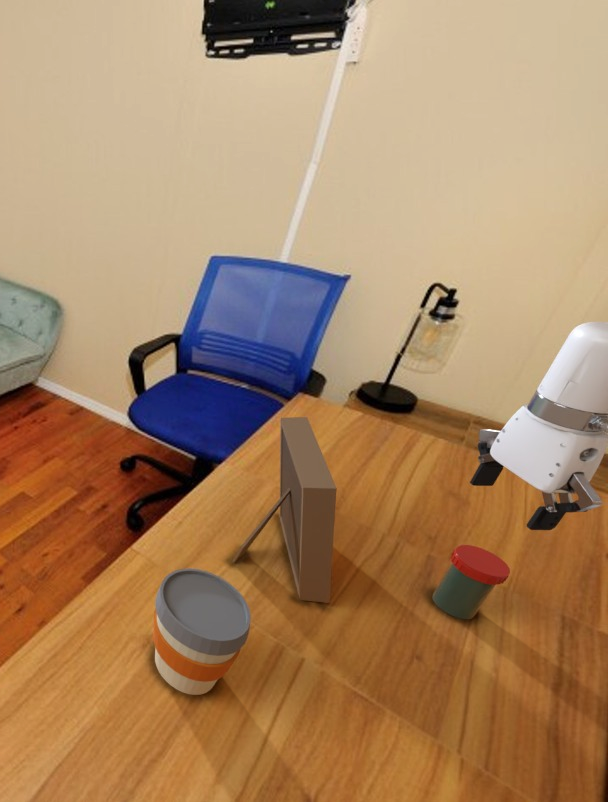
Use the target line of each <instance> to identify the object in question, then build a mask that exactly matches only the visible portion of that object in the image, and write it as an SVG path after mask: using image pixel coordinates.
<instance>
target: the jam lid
mask: <svg viewBox="0 0 608 802" xmlns="http://www.w3.org/2000/svg"><path fill="white" fill-rule="evenodd" d="M449 559H450V562H451V564H452V563H453V565H454V566H455V567H456V568H457V569H458V570H459V571H461V572H462V573H463V574H465V575H466V576H468V577H470V578H472V579H474V580H477V581H479V582H482V583H486V584H491V585H495V586H498V585H501V584H504V582H506V581H507V580H508V578H509V577H510V574H511V569H510V567H509V565H508V564H507V563H506V561H505V560H503V559H502V558H500V557H499V556H498V555H496V554H495V553H493V552H491V551H489V550H487V549H485V548H482V547H479V546H476V545H471V544H461V545H458V546H456V548H455V549H453V551H452V553H451V554H450V558H449Z"/></svg>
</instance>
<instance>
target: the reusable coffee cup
mask: <svg viewBox="0 0 608 802" xmlns="http://www.w3.org/2000/svg"><path fill="white" fill-rule="evenodd" d="M154 605H155V606H154V607H155V608H154V612H153V629H152V640H153V645H154V648H155V649H154V662H155V666H156V668H157V671H158V673H159V674H160V677H162V679H163V680H164V681H165V682H166V683H167V684H168V685H169V686H171V687H172V688H174V689H175V690H176V691H179V692H180V693H184V694H185V695H193V696H197V695H198V696H199V695H200V696H201V695H204V694H207V693H208V692H210V691H211V690H212V689H213V687H214V686H215V685H216V683H217V682H218V680H220V679H221V678H222V677H224V676H225V675H226V674H227V673H228V671H229V670H230V668H231V667H232V666H233V664H234V662H235V661H236V660H237V659H238V657H239V654H240V652H241V650H242V648H243V647H244V646H245V644H246V642H247V640H248V638H249V634H250V629H251V621H252V616H251V610H250V608H249V605H248V602H247V601H246V599H245V598H244V596H243V595H242V594H241V592H240V591H239V590H238V589H237V588H236V587H234V585H233V584H232V583H230V582H229V581H227V580H226V579H224V578H222V577H220V576H219V575H217V574H215V573H212V572H209V571H207V570H203V569H199V568H190V567H189V568H180V569H176V570H174V571H171V572H170V573H168V574H167V575H166V576H165V577H164V578H163V580H162V582H161V583H160V586H159V588H158V591H157V592H156V596H155V599H154Z"/></svg>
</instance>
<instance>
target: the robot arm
mask: <svg viewBox="0 0 608 802" xmlns="http://www.w3.org/2000/svg"><path fill="white" fill-rule="evenodd" d="M539 383H540V384H539V385H538V387H537V389H536V391H535V392H534V393H533V395H532V397H531V398H530V400H529V402H528V403H525V404H523V405H522V406H521V407H520V408H519V409H518V410H516V412H514V414H513V415H512V416H511V417H510V418H509V420H507V422H506V423H505V425H504V426H503V427H502V429H501V430H498V429H489V428H488V429H487V428H485V429H484V428H483V429H479V431H478V443H477V449H478V452H479V456H478V457H477V461H478V462H479V465H478V467H477V469H476V470H475V472H474V474H473V476H472V478H471V479H470V481H469V484H471V486H473V487H474V486H475V487H493V486H494V485H495V483H496V481H497V479H498V478H499V476H500V475H501V473H502V471H503V470H504V468H505V469H507V470H509V471H510V472H511V473H512V474H513V475H516V476H517V477H518V478H520V479H522V480H523V481H524V482H526V483H527V484H529V485H530V486H531V487H533V488H535V489H536V490H538V491H540V492H541V495H542V499H543V503H544V505H541V506H538V507H537V508H536V510H534V511H535V512H533V514H532V516H531V517H530V519H529V520H528V522H527V523H526V527H527V529H528V530H530V531H551V530H553V529H555V528H556V527H557V526H558V525H559V523H560V522H561V520H562V519H563V518H564V516H565V515H566V514H567V513H586V512H588V511H590V510H593V509H597V508H599V507H601V506H603V504H604V502H603V500H602V498H601V497H600V495H598V493H597V492H596V490H595V489H594V487H593V486H592V485H591V483H590V482H591V480H592V479H593V477H594V476H595V474H596V472H597V470H598V468H599V466H600V465H601V462H602V461H603V458H604V456H605V454H606V450H607V447H608V321H588V322H584V323H581V324H579V325H577V326H575V327H574V328H573V329H572V330H571V331H570V332H569V334H568V336H567V337H566V340H565V341H564V343H563V344H562V346H561V348H560V349H559V351H558V353H557V355H556V356H555V358H554V360H553V361H552V362H551V365H550V367H548V370H547V371H546V373H545V375H544V377H543V378H542V380H541V381H540V382H539ZM556 494H558V499H559V502H558V500H557V496H556ZM573 494H574V495H577V497H578V499H577V500H575V501H574V498H573Z"/></svg>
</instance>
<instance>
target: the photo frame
mask: <svg viewBox="0 0 608 802" xmlns="http://www.w3.org/2000/svg"><path fill="white" fill-rule="evenodd" d="M279 429H280V431H279V433H280V434H279V435H280V436H279V437H280V438H279V439H280V440H279V499H278V500H277V501H276V503H275V504H274V505H273V507H271V509H270V510H269V511H268V512H267V514H266V515H265V516H264V517H263V519H262V520H261V521H260V522H259V524H258V525H257V526H256V527H255V529H254V530H253V531H252V532H251V533H250V535H249V536H248V537H247V538H246V539H245V541H243V543H242V545H241V546H240V547H239V549H238V550H237V552H236V554H235V555H234V557H233V559H232V560H231V562H232V563H236V561H238V560H239V559H240V558H241V557H243V555H245V553H247V551H248V549H250V547H251V546H252V544H253V543H254V542H255V540H256V539H257V538H258V536H259V535H260V534H261V532H262V531H263V530H264V529H265V527H266V526H267V524H268V523H269V521H270V520H271V519H272V518H273V517H274V515H275V513H276V512H277V511H278V510H279V521H280V525H281V529H282V533H283V538H284V542H285V546H286V550H287V554H288V557H289V561H290V566H291V570H292V573H293V579H294V583H295V586H296V591H297V595H298V599H299V601H306V602H307V601H309V602H316V603H326V604H328V603H329V604H330V599H331V597H330V596H331V581H332V566H333V552H334V551H333V550H334V535H335V523H336V522H335V521H336V520H335V519H336V503H337V489H338V488H337V486H336V484H335V481H334V478H333V476H332V474H331V472H330V469H329V467H328V464H327V461H326V459H325V457H324V455H323V452H322V449H321V447H320V445H319V443H318V440H317V437H316V435H315V432H314V430H313V427H312V425H311V423H310V421H309V419H308V416H303V417H301V416H298V417H297V416H295V417H280V427H279Z"/></svg>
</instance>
